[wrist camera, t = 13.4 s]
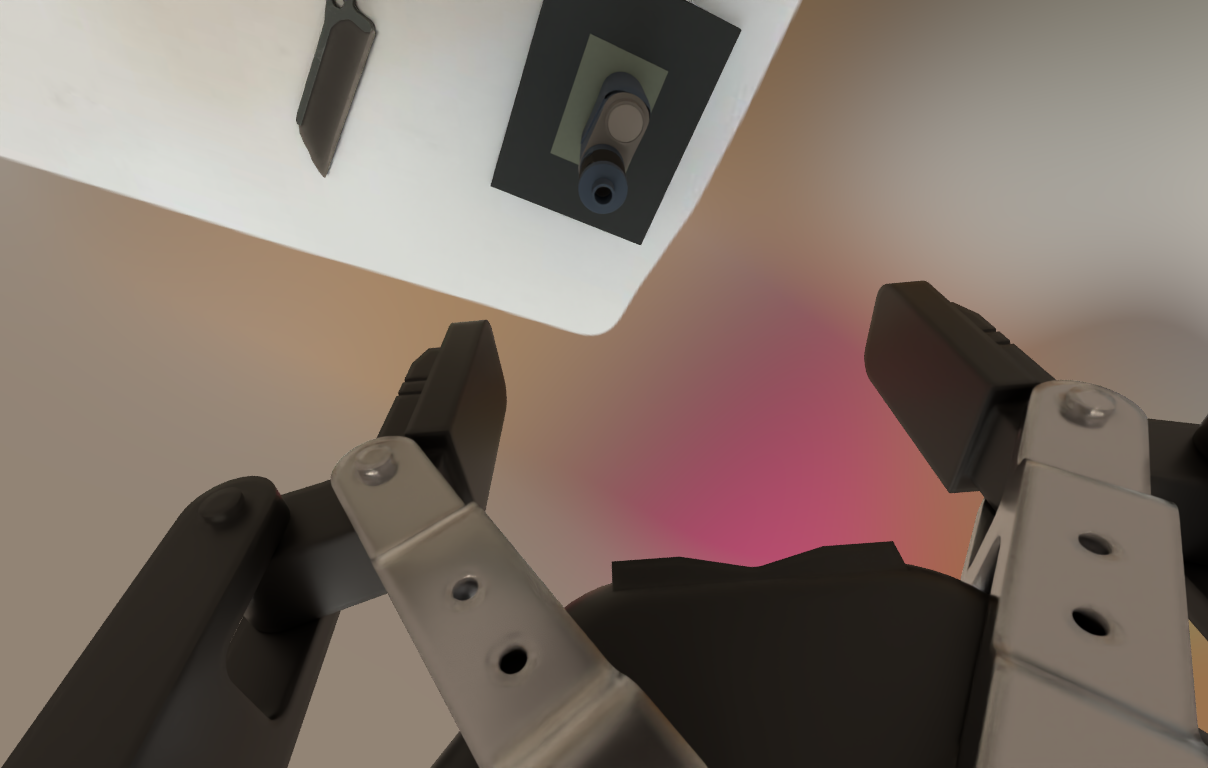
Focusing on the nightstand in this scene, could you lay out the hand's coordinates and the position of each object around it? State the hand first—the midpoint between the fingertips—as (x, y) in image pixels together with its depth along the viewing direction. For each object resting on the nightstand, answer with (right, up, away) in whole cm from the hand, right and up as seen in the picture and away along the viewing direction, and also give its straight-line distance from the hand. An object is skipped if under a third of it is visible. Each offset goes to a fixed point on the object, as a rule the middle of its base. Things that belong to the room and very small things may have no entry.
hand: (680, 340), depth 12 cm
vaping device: (-1, +16, +23) cm, 28 cm away
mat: (-1, +16, +23) cm, 28 cm away
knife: (-17, +18, +21) cm, 33 cm away
